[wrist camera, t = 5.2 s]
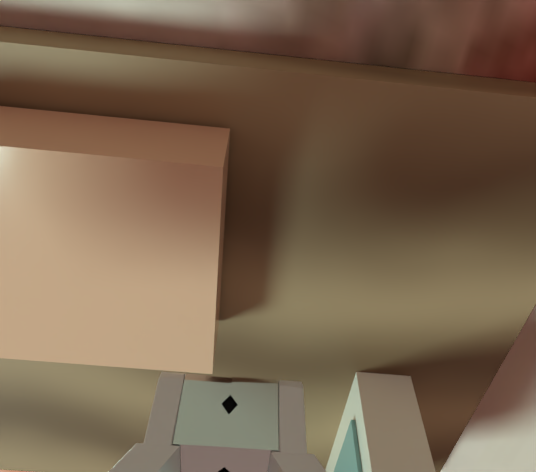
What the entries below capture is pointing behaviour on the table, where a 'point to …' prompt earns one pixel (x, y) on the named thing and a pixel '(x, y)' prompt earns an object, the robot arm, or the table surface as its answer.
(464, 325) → the walnut board
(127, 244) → the terracotta tile
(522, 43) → the table surface
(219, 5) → the table surface
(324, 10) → the table surface
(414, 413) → the cream tile
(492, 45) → the table surface
